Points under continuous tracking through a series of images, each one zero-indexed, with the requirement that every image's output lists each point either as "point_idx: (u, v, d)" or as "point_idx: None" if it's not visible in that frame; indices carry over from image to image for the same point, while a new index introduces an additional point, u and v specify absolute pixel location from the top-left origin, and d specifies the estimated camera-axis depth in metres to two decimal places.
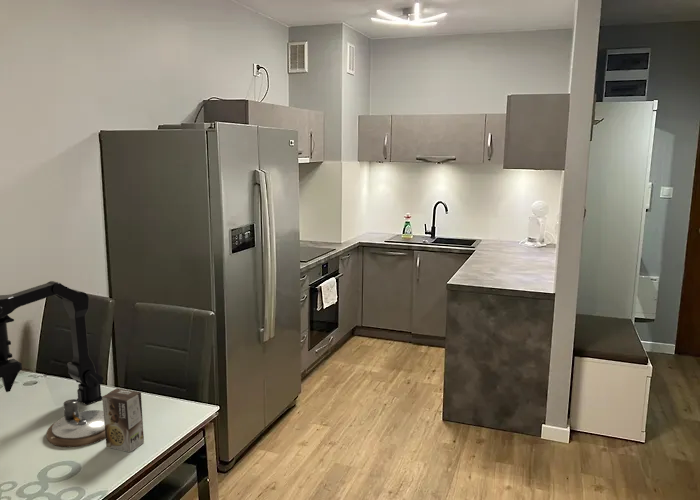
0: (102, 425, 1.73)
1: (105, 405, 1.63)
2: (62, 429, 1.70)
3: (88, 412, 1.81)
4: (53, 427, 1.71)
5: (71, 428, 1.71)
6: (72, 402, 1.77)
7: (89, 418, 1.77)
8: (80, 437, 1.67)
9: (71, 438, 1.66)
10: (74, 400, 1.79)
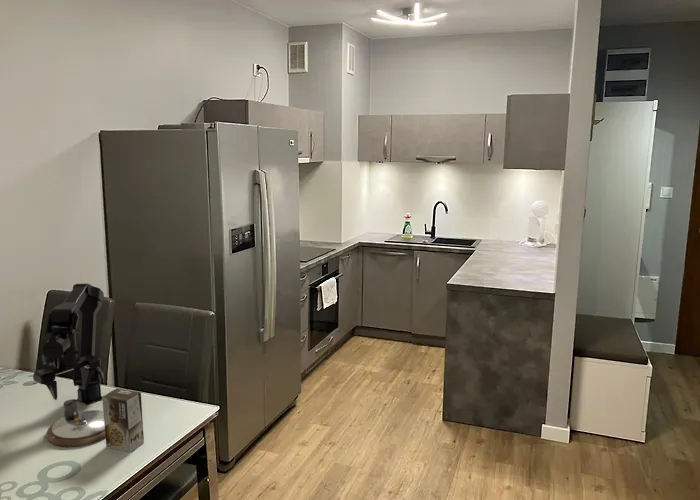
0: (102, 425, 1.73)
1: (105, 405, 1.63)
2: (62, 429, 1.70)
3: (88, 412, 1.81)
4: (53, 427, 1.71)
5: (71, 428, 1.71)
6: (72, 402, 1.77)
7: (89, 418, 1.77)
8: (80, 437, 1.67)
9: (71, 438, 1.66)
10: (74, 400, 1.79)
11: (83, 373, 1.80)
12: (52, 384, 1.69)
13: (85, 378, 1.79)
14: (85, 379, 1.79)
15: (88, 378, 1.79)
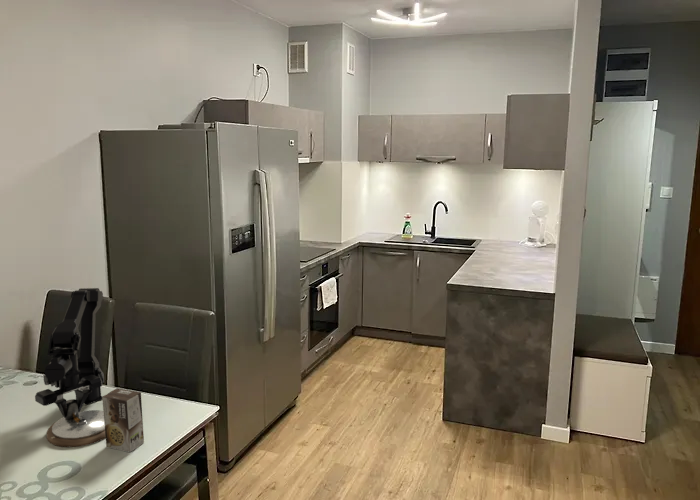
0: (102, 425, 1.73)
1: (105, 405, 1.63)
2: (62, 429, 1.70)
3: (88, 412, 1.81)
4: (53, 427, 1.71)
5: (71, 428, 1.71)
6: (72, 402, 1.77)
7: (89, 418, 1.77)
8: (80, 437, 1.67)
9: (71, 438, 1.66)
10: (74, 400, 1.79)
11: (77, 396, 1.79)
12: (62, 402, 1.72)
13: (79, 401, 1.79)
14: (79, 402, 1.79)
15: (82, 401, 1.78)
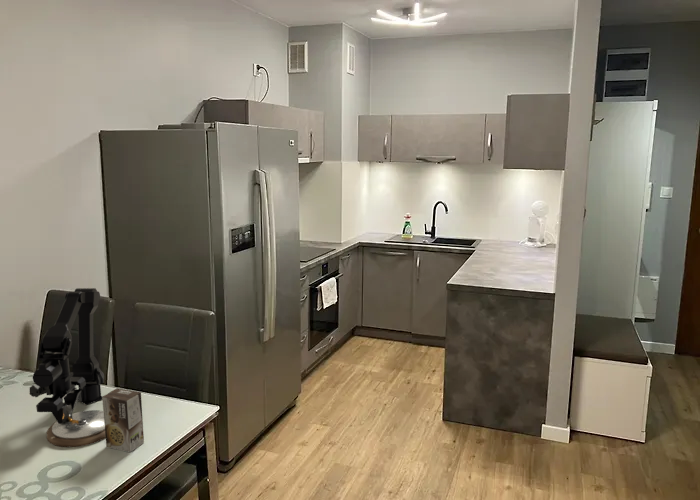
0: None
1: (105, 405, 1.63)
2: (66, 431, 1.69)
3: (79, 413, 1.80)
4: (54, 431, 1.69)
5: (76, 429, 1.70)
6: None
7: (86, 418, 1.77)
8: (91, 434, 1.68)
9: (82, 437, 1.67)
10: (66, 403, 1.77)
11: (67, 398, 1.77)
12: (64, 407, 1.69)
13: (71, 402, 1.77)
14: (71, 403, 1.77)
15: (75, 401, 1.78)
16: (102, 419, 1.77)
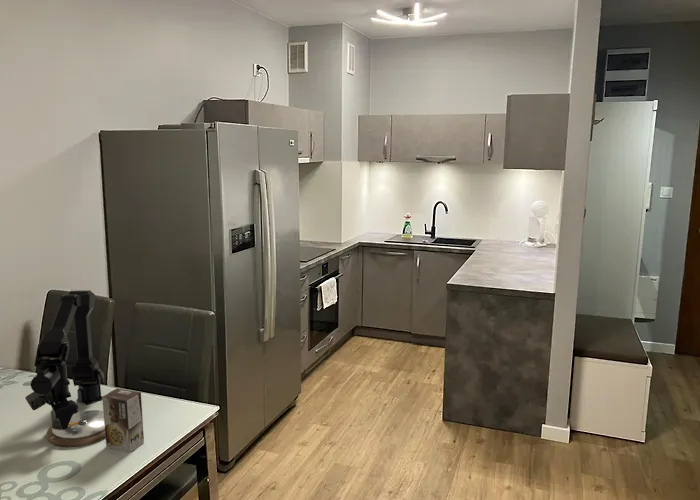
0: None
1: (105, 405, 1.63)
2: (77, 432, 1.69)
3: None
4: (64, 435, 1.67)
5: (84, 428, 1.71)
6: None
7: (80, 419, 1.77)
8: None
9: (100, 432, 1.70)
10: None
11: None
12: None
13: None
14: None
15: None
16: (99, 415, 1.79)
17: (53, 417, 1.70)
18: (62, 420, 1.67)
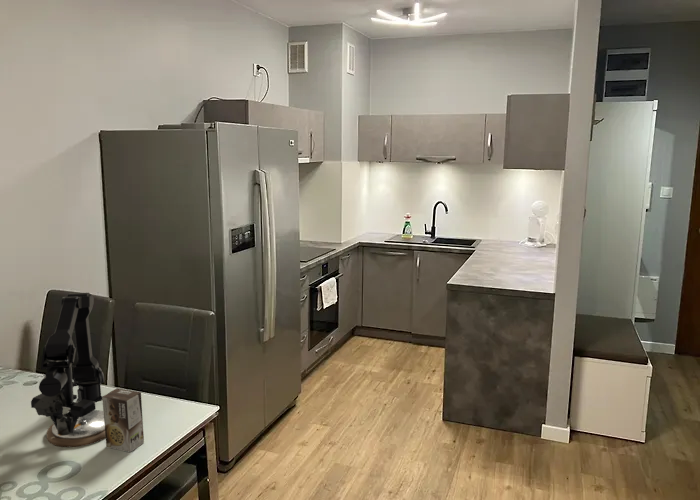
0: (93, 412, 1.81)
1: (105, 405, 1.63)
2: (94, 427, 1.71)
3: None
4: (89, 433, 1.68)
5: (94, 423, 1.74)
6: None
7: None
8: None
9: None
10: (59, 416, 1.68)
11: (56, 413, 1.68)
12: None
13: None
14: None
15: None
16: None
17: (65, 423, 1.66)
18: (72, 421, 1.66)
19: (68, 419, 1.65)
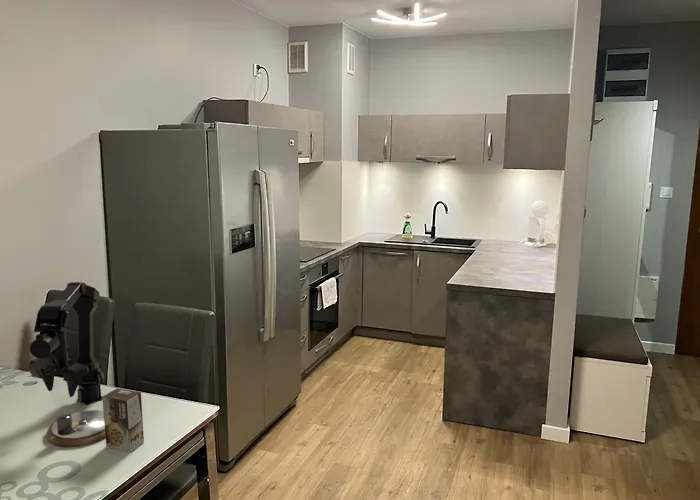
0: (93, 412, 1.81)
1: (105, 405, 1.63)
2: (94, 427, 1.71)
3: (57, 427, 1.71)
4: (89, 433, 1.68)
5: (94, 423, 1.74)
6: (66, 415, 1.68)
7: (72, 422, 1.74)
8: None
9: None
10: (59, 416, 1.68)
11: (47, 374, 1.73)
12: None
13: (51, 377, 1.74)
14: (52, 378, 1.74)
15: None
16: (85, 414, 1.80)
17: (65, 423, 1.66)
18: (72, 386, 1.69)
19: (68, 384, 1.68)
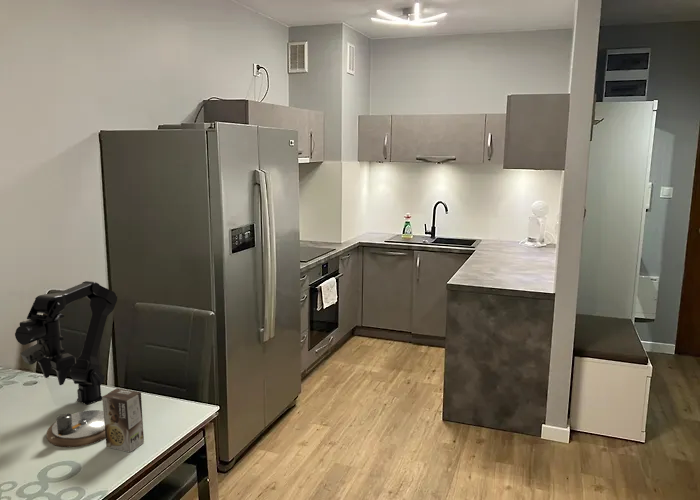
0: (93, 412, 1.81)
1: (105, 405, 1.63)
2: (94, 427, 1.71)
3: (57, 427, 1.71)
4: (89, 433, 1.68)
5: (94, 423, 1.74)
6: (66, 415, 1.68)
7: (72, 422, 1.74)
8: None
9: None
10: (59, 416, 1.68)
11: (44, 362, 1.81)
12: None
13: (49, 364, 1.83)
14: (49, 365, 1.83)
15: None
16: (85, 414, 1.80)
17: (65, 423, 1.66)
18: (60, 375, 1.75)
19: (56, 372, 1.75)
